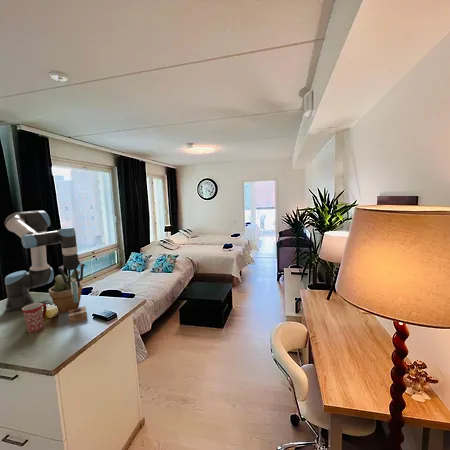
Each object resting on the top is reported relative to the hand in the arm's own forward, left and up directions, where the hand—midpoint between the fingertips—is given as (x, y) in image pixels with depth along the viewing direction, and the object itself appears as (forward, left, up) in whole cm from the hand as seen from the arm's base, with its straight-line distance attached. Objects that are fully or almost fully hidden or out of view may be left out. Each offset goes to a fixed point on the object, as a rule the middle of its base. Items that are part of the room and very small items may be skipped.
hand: (75, 293), depth 151 cm
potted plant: (-19, -5, -16) cm, 26 cm away
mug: (-2, -20, -16) cm, 26 cm away
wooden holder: (0, 0, -16) cm, 16 cm away
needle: (0, 0, -5) cm, 5 cm away
